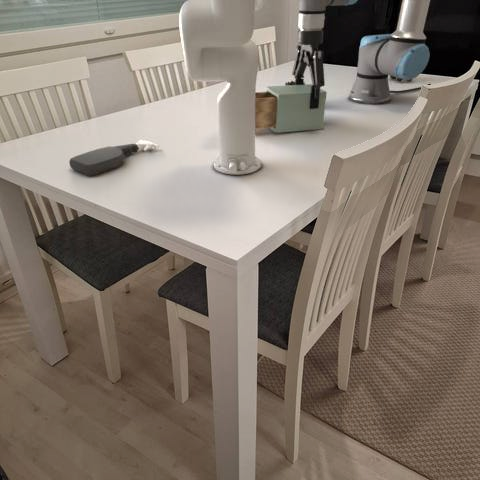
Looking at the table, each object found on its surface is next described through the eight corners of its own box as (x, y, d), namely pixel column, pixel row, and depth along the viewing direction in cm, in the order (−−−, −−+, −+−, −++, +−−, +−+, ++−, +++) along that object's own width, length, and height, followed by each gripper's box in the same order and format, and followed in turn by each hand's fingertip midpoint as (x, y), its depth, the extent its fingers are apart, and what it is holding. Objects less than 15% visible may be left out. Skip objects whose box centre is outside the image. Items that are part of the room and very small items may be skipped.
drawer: (229, 133, 136) (229, 100, 131) (220, 123, 144) (220, 92, 139) (291, 127, 142) (293, 96, 137) (279, 119, 150) (281, 89, 144)
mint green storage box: (276, 132, 140) (278, 94, 134) (263, 122, 149) (265, 86, 143) (322, 128, 145) (326, 91, 139) (307, 119, 154) (311, 84, 147)
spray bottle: (67, 168, 120) (139, 144, 136) (91, 178, 114) (163, 151, 130) (65, 157, 118) (137, 134, 134) (89, 167, 112) (162, 142, 128)
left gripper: (255, 31, 121) (255, 100, 130) (238, 27, 133) (239, 90, 142) (228, 32, 119) (230, 102, 128) (213, 28, 131) (216, 92, 140)
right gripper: (341, 33, 124) (333, 112, 136) (305, 24, 143) (301, 94, 155) (317, 34, 122) (311, 114, 134) (283, 25, 141) (281, 96, 153)
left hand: (235, 96), depth 135 cm, fingers closed
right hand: (305, 103), depth 144 cm, fingers closed on mint green storage box, 11 cm apart
